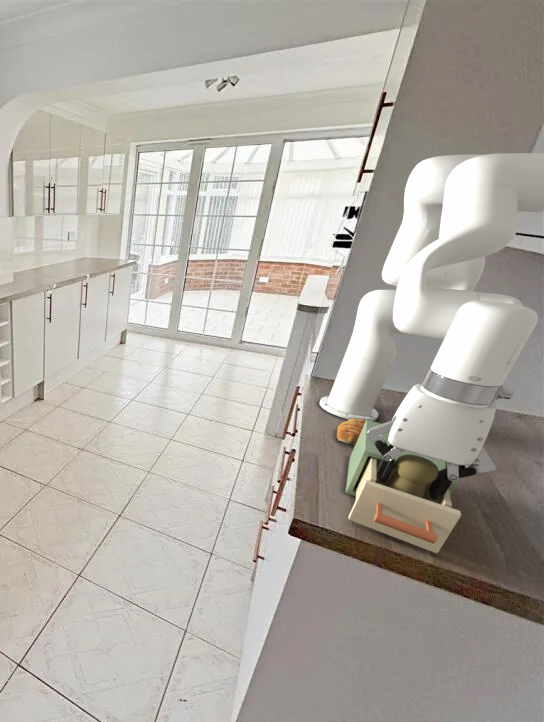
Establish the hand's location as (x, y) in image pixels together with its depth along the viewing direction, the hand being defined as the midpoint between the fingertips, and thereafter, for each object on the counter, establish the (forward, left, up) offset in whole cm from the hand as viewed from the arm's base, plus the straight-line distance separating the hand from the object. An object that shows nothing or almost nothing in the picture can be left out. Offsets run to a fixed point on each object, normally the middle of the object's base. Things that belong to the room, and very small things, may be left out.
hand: (407, 485), depth 67 cm
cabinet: (-12, 0, -8) cm, 14 cm away
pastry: (-30, -6, -8) cm, 32 cm away
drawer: (+1, 0, -7) cm, 7 cm away
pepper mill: (0, 0, -6) cm, 6 cm away
